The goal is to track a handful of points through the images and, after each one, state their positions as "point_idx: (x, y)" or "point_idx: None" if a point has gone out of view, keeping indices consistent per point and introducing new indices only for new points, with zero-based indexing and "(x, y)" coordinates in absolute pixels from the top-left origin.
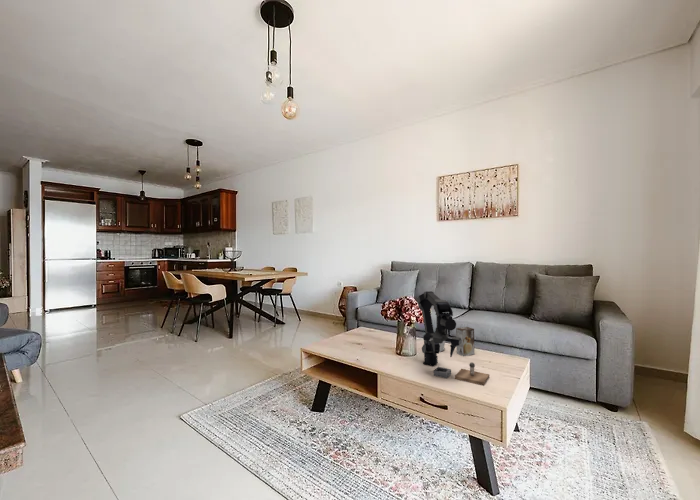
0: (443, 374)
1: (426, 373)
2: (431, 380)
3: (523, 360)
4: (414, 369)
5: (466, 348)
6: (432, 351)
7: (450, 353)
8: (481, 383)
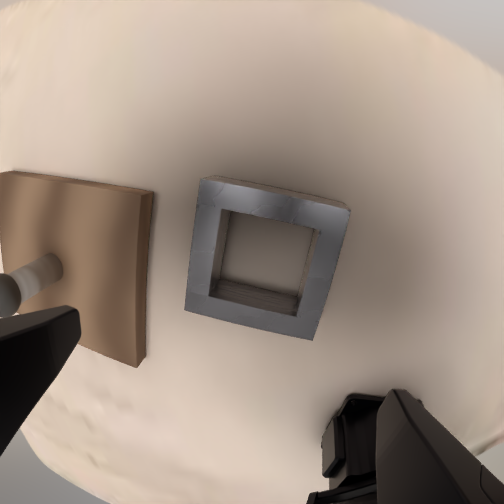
0: (240, 184)
1: (408, 228)
2: (341, 76)
3: (37, 454)
4: (491, 281)
5: None
6: (426, 413)
7: (26, 325)
8: (12, 173)
